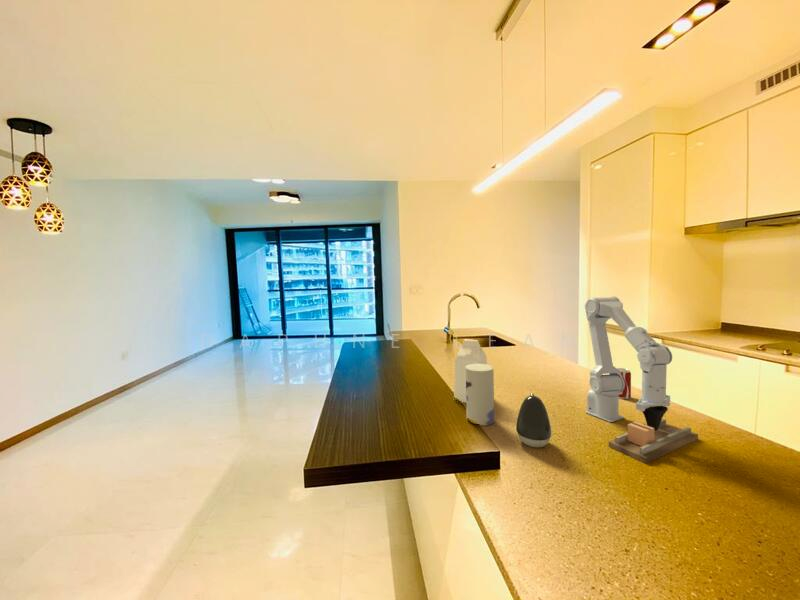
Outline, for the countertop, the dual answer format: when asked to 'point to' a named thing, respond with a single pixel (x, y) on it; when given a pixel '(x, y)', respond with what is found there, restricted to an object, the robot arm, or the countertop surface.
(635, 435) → the fader knob
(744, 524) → the countertop surface
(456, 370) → the milk
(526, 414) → the dark egg shaped diffuser
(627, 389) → the soda can
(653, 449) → the fader board
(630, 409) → the countertop surface
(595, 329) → the robot arm
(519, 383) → the countertop surface
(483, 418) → the container
